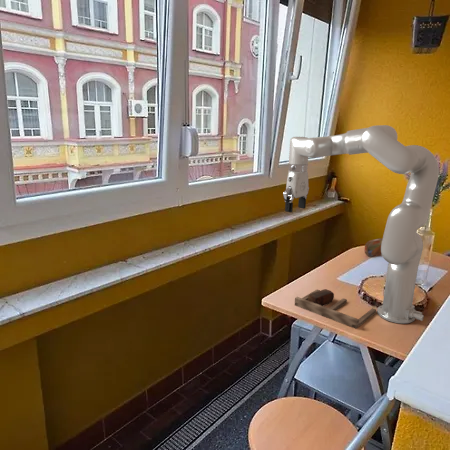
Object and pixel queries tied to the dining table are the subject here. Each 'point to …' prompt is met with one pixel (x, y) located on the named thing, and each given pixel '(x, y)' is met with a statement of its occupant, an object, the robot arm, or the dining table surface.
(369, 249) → the tin
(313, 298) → the brick
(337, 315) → the lane rack
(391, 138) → the robot arm
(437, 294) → the dining table surface
